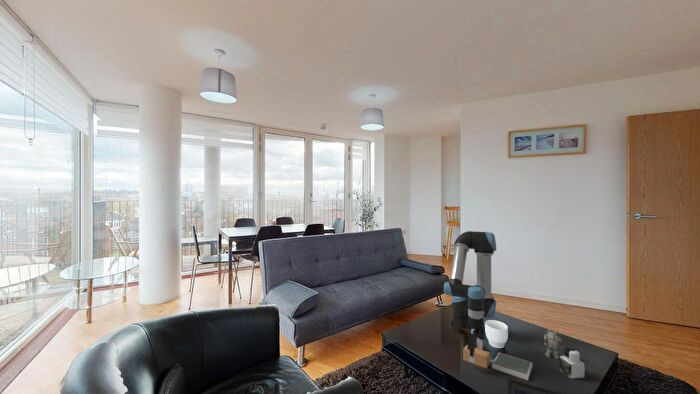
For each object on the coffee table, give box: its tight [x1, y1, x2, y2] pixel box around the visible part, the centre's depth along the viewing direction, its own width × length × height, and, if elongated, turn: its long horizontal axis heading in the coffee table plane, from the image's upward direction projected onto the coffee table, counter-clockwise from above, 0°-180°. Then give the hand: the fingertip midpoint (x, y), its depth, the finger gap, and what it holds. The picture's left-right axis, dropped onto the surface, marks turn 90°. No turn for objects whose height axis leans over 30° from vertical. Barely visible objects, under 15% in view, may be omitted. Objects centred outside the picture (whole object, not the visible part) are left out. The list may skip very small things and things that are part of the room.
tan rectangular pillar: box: [462, 345, 491, 369], centre depth 155 cm, size 12×6×6 cm, turn 49°
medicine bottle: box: [559, 347, 585, 379], centre depth 144 cm, size 7×7×12 cm
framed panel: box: [491, 352, 534, 381], centre depth 150 cm, size 16×14×2 cm
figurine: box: [543, 329, 562, 360], centre depth 158 cm, size 8×8×15 cm
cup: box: [457, 328, 470, 350], centre depth 170 cm, size 9×9×10 cm
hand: (476, 356), depth 155 cm, fingers open, 13 cm apart
